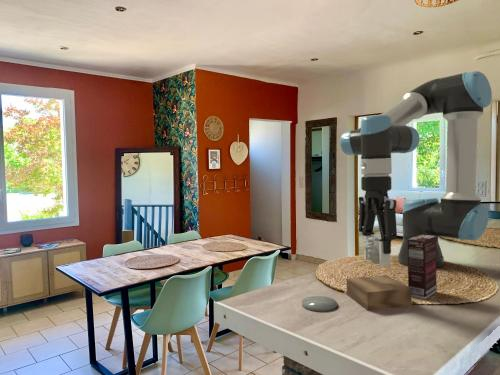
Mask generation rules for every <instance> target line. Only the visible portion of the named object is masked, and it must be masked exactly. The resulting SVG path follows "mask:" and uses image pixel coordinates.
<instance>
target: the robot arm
mask: <svg viewBox="0 0 500 375" xmlns="http://www.w3.org/2000/svg"><path fill="white" fill-rule="evenodd" d="M492 99H493V96H492V88H491V83H490V81H489V79H488V77H487V75H485V73H483V72H482V71H479V70H478V71H470V72H467V71H464V72H463V73H458V74H454V75H449V76H444V77H440V78H434V79H431V80H428V81H427V82H424V83H422V84H420V85H419V86H416V87H415V88H413V89H412V90H410V91H408V92H407V93H406V94H404V95H403V97H402V98H401V99H400V101H399V102H398V103H396V104H394V105H393V106H392V107H390V108H389V109H387V110H386V111H384V112H382V113H381V114H377V115H367V116H364V117H363V118H362V119H361V121H360V127H359V128H357V129H355V130H348V131H345V132H343V133H342V135H341V137H340V140H339V144H340V148H341V151H342V152H343V153H344V154H345V155H348V156H360V158H361V161H360V162H361V163H360V167H361V175H363V176H361V178H360V179H361V180H360V183H361V184H360V185H361V188H360V189H361V190H362V191H364V192H365V193H364V196H359V197H358V203H359V206H358V208H359V209H358V211H359V213H358V232H359V233H361V234H362V236H363V241H365V240H367V239H368V238H370V237H375V234H376V233H375V232H374V227H375V221H376V219H377V223H378V224H377V225H378V228H379V233H380V239H379V238H378V239H379V264H378V265H379V267H389V266H390V267H391V254H392V248H391V247H392V241H394V240H397V239H398V232H397V229H398V228H397V216H396V213H397V211H396V207H397V200H396V199H391V198H390V197H389V194H388V192H389V191H391V190H392V177H391V176H390V175H391V174H392V170H393V169H392V154H407V153H410V152H411V153H412V152H413V151H415V150H416V149H417V147H418V146H419V144H420V140H421V139H420V134H419V132H418V130H417V129H416V128H415V127H413V126H408V124H409V123H411V122H412V121H413V120H418V119H421V118H423V117H424V116H429V115H432V114H433V115H434V114H441V113H442V118H443V119H445V120H446V121H447V127H446V128H447V132H446V133H447V134H446V136H447V138H446V174H445V175H446V176H445V178H446V179H445V193H444V194H443V195H442V196H441V197H440V200H439V199H438V198H437V197H431V198H429V197H428V198H421V199H410V200H405V201H404V202H403V204H402V212H401V214H402V242H401V246H400V248H399V253H398V254H397V261H398V263H399V264H401V265H405V266H407V267H408V240H407V239H410V238H412V237H415V236H418V235H431V236H436V268H439V267H443V266H444V265H445V258H444V255H443V252H442V250H441V246H440V243H439V237H440V238H441V237H442V238H450V239H454V240H455V239H457V240H461V241H477V240H478V239H480V238H481V237H482V236H483V235H484V233H485V231H486V229H487V226H488V222H489V212H488V208H487V207H486V206H485V205H484V204H482V203H481V202H482V201H481V200H482V198H480V197H479V196H478V195H477V192H476V187H477V185H476V184H477V157H478V156H477V155H478V153H477V151H478V149H477V148H478V120H479V119H480V118H481V117H482V116H484V108H487V107H489V106H490V105H491V104H492V103H491V101H492ZM439 201H440V202H439ZM363 251H364V252H363V255H364V256H363V258H364V260H365V261H370V259H369V258H368V253H367V251H366V250H365V248H364V247H363Z"/></svg>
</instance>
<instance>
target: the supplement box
mask: <svg viewBox="0 0 500 375" xmlns="http://www.w3.org/2000/svg"><path fill="white" fill-rule="evenodd" d="M407 240H408V266H407V271H408V272H407V279H408V280H407V284H408V285H407V286H408V287H410V288H411V298H416V299H420V300H427V299H428V298H430V297H431V296H433V295H434V294H435V293H437V290H438V288H437V267H436V236H431V235H418V236H415V237H412V238H410V239H407Z"/></svg>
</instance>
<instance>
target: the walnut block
mask: <svg viewBox="0 0 500 375" xmlns="http://www.w3.org/2000/svg"><path fill="white" fill-rule="evenodd" d="M346 296H348V297H349V298H350V299H351V300H352V301H354V302H355V303H356V304H358V305H359V306H360V307H362V308H363V309H365V310H366V311H369V312H370V311H380V310H388V309H390V310H391V309H395V308H396V309H397V308H398V309H399V308H406V307H412V305H413V304H412V297H411V288H410V287H408V285H406V284H404V283H402V282H400V281H398V280H396V279H394V278H392V277H390V276H389V275H387V274H385V275H373V276H372V275H371V276H364V277H363V276H360V277H352V278H351V277H350V278H346Z"/></svg>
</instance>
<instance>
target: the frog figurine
mask: <svg viewBox="0 0 500 375" xmlns="http://www.w3.org/2000/svg"><path fill="white" fill-rule="evenodd" d="M362 245H363V249H364V248H365V250H366V251H367V253H368V258H369V259H370V260H369V261H370V262H371V263H373V264H377V265H379V237H377V236H374V237H370V238H368V239H367V240H365V241H364V240H363V241H362Z"/></svg>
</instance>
